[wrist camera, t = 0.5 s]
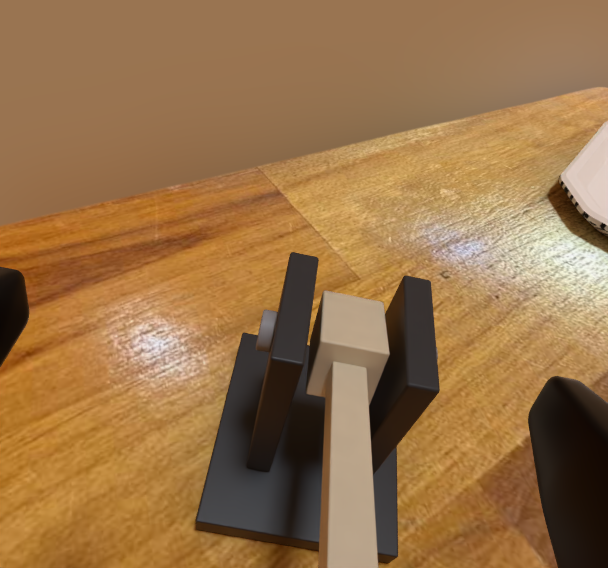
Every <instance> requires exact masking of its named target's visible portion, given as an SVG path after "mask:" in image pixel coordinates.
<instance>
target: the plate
mask: <svg viewBox="0 0 608 568" xmlns="http://www.w3.org/2000/svg"><path fill="white" fill-rule="evenodd" d="M559 183H560V185H561V186H562V188H563V189H564V191H565V192H566V193H567V195H568V196H569V198H570V199H571V201H572V202H573V204H574V205H575V207H576V208H577V209H578V211H579V212H580V214H581V215H582V216H583V217H584V218H585V219H586V220H587V221H588V222H589V223H590V224H591V225H592V226H593V227H594V228H596V229H597V230H598V231H599V232H600V233H602V234H604V235H606V236H607V237H608V121H606V122H605V123H604V124H603V125H602V126H601V128H600V129H599V130H598V131H597V132H596V134H595V135H594V136H593V137H592V138H591V139H590V141H589V142H588V143H587V144H586V145H585V147H584V148H583V149H582V150H581V151H580V152H579V154H578V155H577V156H576V157H575V158H574V160H573V161H572V162H571V163H570V164H569V166H568V167H567V168H566V169H565V170H564V171H563V173H562V174H561V175H560V176H559Z"/></svg>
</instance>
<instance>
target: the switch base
mask: <svg viewBox="0 0 608 568" xmlns="http://www.w3.org/2000/svg"><path fill="white" fill-rule="evenodd" d="M318 261H319V260H318V258H317V257H314V256H309V255H304V254H299V253H294V252H292V253H291V254H290V257H289V262H288V266H287V271H286V276H285V281H284V285H283V290H282V295H281V299H280V304H279V309H278V312H275V311H270V310H264V311H263V315H262V319H261V324H260V329H259V334H258V335H253V334H248V333H243V334H242V338H241V342H240V346H239V349H238V353H237V357H236V361H235V365H234V369H233V373H232V377H231V381H230V385H229V389H228V393H227V397H226V401H225V405H224V409H223V413H222V417H221V421H220V425H219V429H218V433H217V437H216V441H215V445H214V449H213V453H212V457H211V461H210V465H209V469H208V473H207V477H206V481H205V485H204V489H203V493H202V497H201V501H200V505H199V509H198V513H197V517H196V529H197V530H202V531H208V532H214V533H220V534H225V535H231V536H237V537H242V538H248V539H254V540H259V541H265V542H271V543H276V544H282V545H288V546H294V547H299V548H305V549H311V550H316V551H319V540H320V516H321V492H322V468H323V445H324V421H325V397H320V396H315V395H309V394H306V381H307V370H308V359H309V348H310V346H309V345H307V341H308V334H309V327H310V319H311V312H312V305H313V297H314V290H315V283H316V275H317V268H318ZM385 320H386V328H387V337H388V345H389V353H390V355H389V357H388V360H387V362H386V365H385V367H384V370H383V372H382V375H381V377H380V380H379V382H378V385H377V387H376V390H375V393H374V395H373V398H372V400H371V403H370V405H369V418H370V435H371V452H372V469H373V486H374V503H375V520H376V537H377V555H378V561H379V562H385V563H390V562H391V561H392V560H394V559H395V558H397V557H398V521H397V445H398V443H399V442H400V441H401V440H402V438H403V437H404V436H405V435H406V433H407V432H408V431H409V430H410V428H411V427H412V426H413V424H414V423H415V422H416V421H417V419H418V418H419V417H420V416H421V414H422V413H423V412H424V411H425V409H426V408H427V407H428V405H429V404H430V403H431V402H432V400H433V399H434V398H435V397H436V395H437V394H438V393H439V391H440V389H439V377H438V365H437V358H438V354H437V347H436V340H435V328H434V316H433V304H432V291H431V282H430V281H429V280H425V279H420V278H415V277H410V276H404V277H403V279H402V281H401V283H400V285H399V287H398V289H397V291H396V293H395V295H394V297H393V299H392V301H391V303H390V305H389V307H388V309H387V311H386V314H385Z"/></svg>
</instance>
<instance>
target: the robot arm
mask: <svg viewBox="0 0 608 568" xmlns="http://www.w3.org/2000/svg"><path fill="white" fill-rule="evenodd" d="M28 318H29V306H28V299H27V293H26V286H25V280H24V277H23V275H22V273H21V272H19V271H18V270H14V269H9V268H4V267H0V367H1V365H2V364H3V362H4V360H5V359H6V357H7V356H8V354H9V352H10V351H11V349H12V347H13V346H14V344H15V343H16V341H17V339H18V338H19V336H20V334H21V333H22V331H23V329H24V328H25V326H26V324H27V322H28ZM528 423H529V430H530V437H531V443H532V449H533V456H534V462H535V468H536V474H537V481H538V487H539V493H540V498H541V504H542V508H543V513H544V517H545V521H546V525H547V528H548V532H549V536H550V539H551V543H552V547H553V550H554V554H555V558H556V562H557V565H558V568H608V403H607V402H606V401H604V400H603V399H602V398H601V397H599V396H598V395H597V394H595V393H594V392H593V391H592V390H590V389H589V388H588V387H586V386H585V385H584V384H583V383H581V382H580V381H578V380H574V379H569V378H564V377H559V376H554V377H551V378H550V379H549V380H548V381H547V382H546V384H545V386H544V387H543V389H542V391H541V392H540V394H539V396H538V397H537V399H536V401H535V402H534V404H533V406H532V407H531V410H530V412H529V417H528Z"/></svg>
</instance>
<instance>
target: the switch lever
mask: <svg viewBox="0 0 608 568" xmlns="http://www.w3.org/2000/svg"><path fill="white" fill-rule="evenodd" d="M389 355H390V353H389V345H388V337H387V328H386V320H385V312H384V304H383V302H380V301H375V300H370V299H365V298H360V297H355V296H350V295H345V294H340V293H335V292H330V291H323V294H322V298H321V301H320V305H319V309H318V313H317V316H316V320H315V324H314V328H313V331H312V335H311V339H310V348H309V359H308V370H307V381H306V394H309V395H315V396H320V397H325V421H324V445H323V468H322V492H321V516H320V540H319V563H318V568H378V555H377V537H376V520H375V503H374V486H373V469H372V452H371V435H370V418H369V405H370V403H371V400H372V398H373V395H374V393H375V390H376V387H377V385H378V382H379V380H380V377H381V375H382V372H383V370H384V367H385V365H386V362H387V360H388V357H389Z"/></svg>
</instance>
